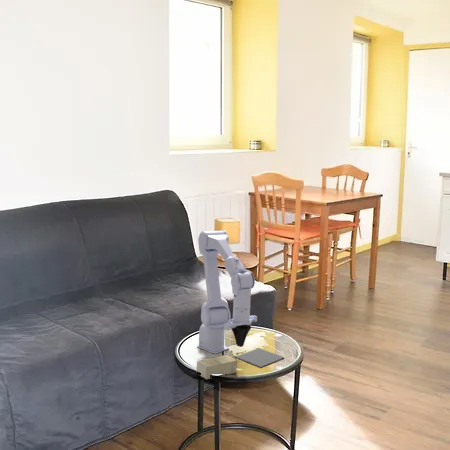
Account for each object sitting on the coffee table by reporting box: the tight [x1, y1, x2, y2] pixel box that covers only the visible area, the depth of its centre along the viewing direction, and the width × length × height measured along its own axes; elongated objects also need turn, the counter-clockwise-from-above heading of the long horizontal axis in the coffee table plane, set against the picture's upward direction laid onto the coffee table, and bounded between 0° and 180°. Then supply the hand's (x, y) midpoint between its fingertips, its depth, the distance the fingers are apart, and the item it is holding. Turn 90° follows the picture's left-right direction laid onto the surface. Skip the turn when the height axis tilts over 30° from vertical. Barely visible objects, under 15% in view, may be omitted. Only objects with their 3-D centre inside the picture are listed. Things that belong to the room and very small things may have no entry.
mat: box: [234, 347, 285, 369], centre depth 206 cm, size 12×13×1 cm
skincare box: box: [196, 354, 238, 380], centre depth 191 cm, size 6×4×12 cm
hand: (239, 345), depth 195 cm, fingers closed
